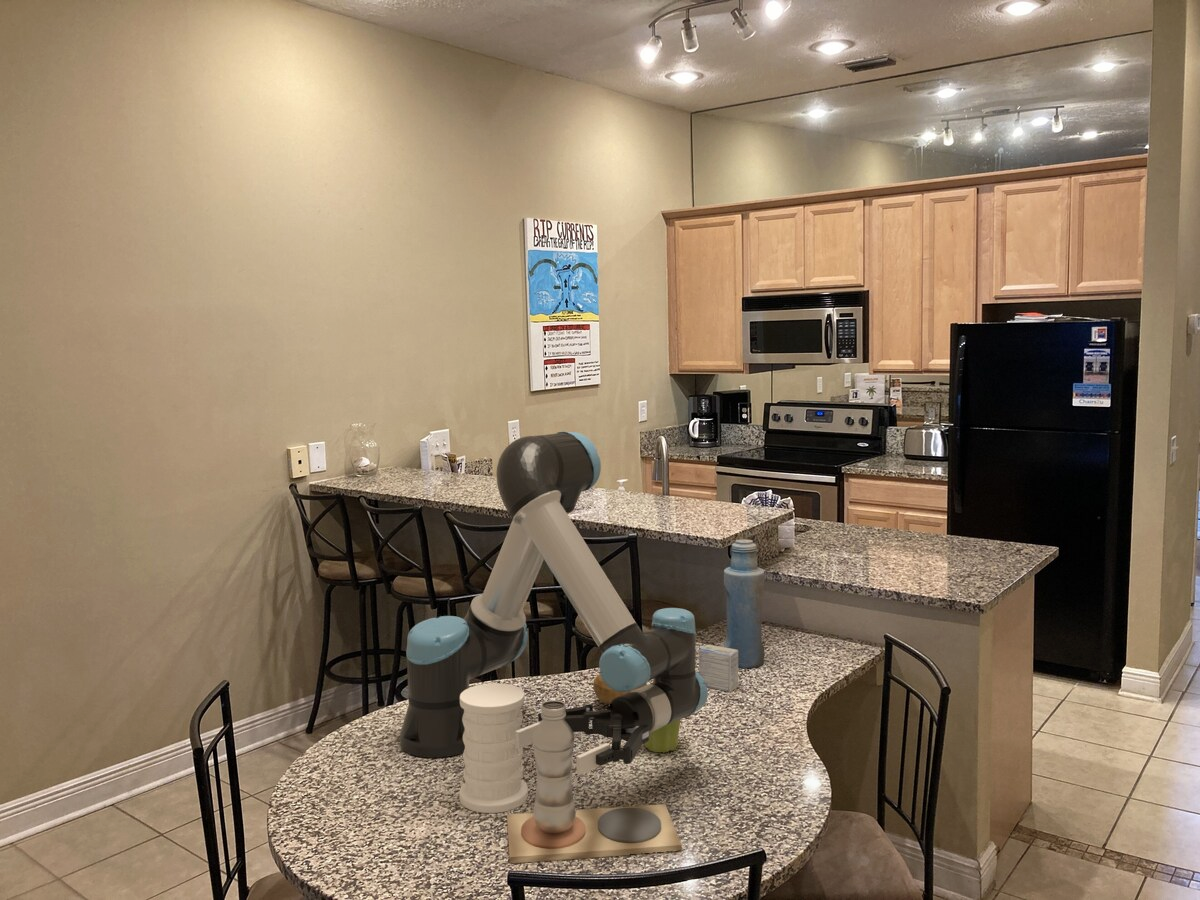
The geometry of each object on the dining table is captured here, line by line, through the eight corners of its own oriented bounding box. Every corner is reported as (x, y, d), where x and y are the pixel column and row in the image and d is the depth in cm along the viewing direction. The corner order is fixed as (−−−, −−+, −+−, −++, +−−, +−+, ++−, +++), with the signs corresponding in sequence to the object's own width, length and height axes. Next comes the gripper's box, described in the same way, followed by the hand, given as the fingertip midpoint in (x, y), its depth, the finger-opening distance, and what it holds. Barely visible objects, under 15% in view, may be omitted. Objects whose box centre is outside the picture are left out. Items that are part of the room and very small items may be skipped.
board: (509, 863, 141) (509, 853, 140) (507, 820, 153) (507, 810, 153) (681, 851, 144) (681, 841, 144) (665, 809, 157) (665, 800, 156)
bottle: (766, 669, 225) (769, 544, 221) (725, 669, 225) (726, 544, 221) (760, 656, 234) (762, 536, 231) (720, 655, 234) (722, 536, 231)
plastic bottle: (561, 843, 143) (560, 716, 141) (524, 831, 147) (523, 707, 144) (584, 824, 149) (583, 702, 146) (548, 813, 152) (547, 693, 150)
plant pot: (682, 759, 176) (682, 714, 175) (632, 755, 178) (632, 710, 177) (688, 739, 185) (688, 696, 184) (640, 735, 187) (640, 692, 186)
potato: (660, 700, 205) (660, 664, 204) (616, 718, 195) (616, 681, 194) (627, 689, 212) (627, 654, 211) (582, 706, 202) (582, 670, 201)
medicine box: (738, 686, 213) (739, 649, 212) (730, 693, 209) (730, 655, 208) (707, 680, 217) (707, 643, 216) (698, 686, 214) (698, 648, 213)
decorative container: (470, 818, 154) (468, 712, 152) (451, 788, 165) (449, 688, 163) (537, 805, 159) (536, 701, 157) (515, 776, 169) (514, 678, 167)
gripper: (696, 756, 153) (606, 802, 137) (585, 715, 170) (494, 752, 154) (696, 711, 152) (606, 752, 136) (585, 674, 169) (493, 707, 153)
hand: (546, 752), depth 145 cm, fingers open, 13 cm apart
